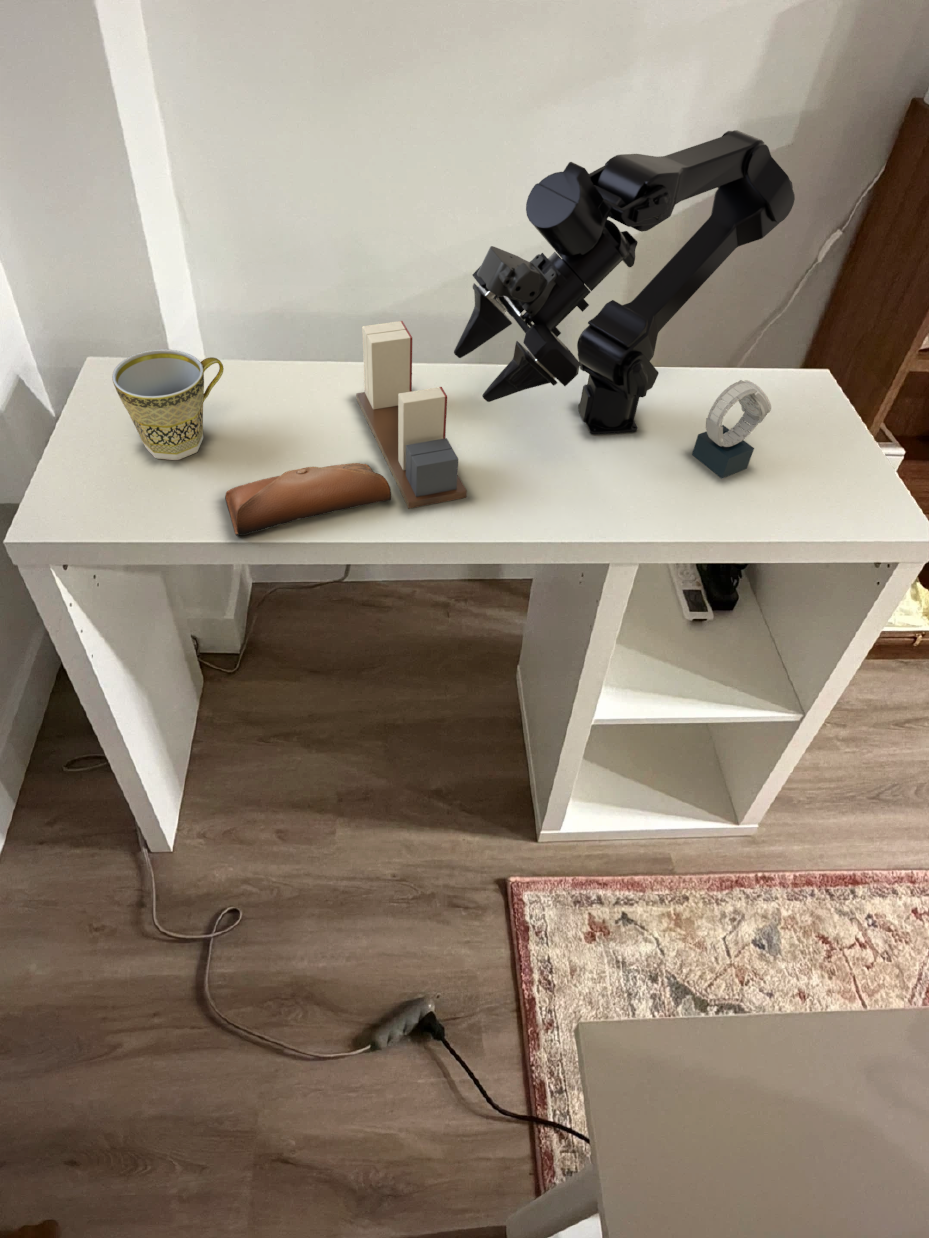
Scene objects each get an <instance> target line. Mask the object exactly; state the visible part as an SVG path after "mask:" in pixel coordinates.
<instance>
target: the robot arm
mask: <svg viewBox="0 0 929 1238" xmlns="http://www.w3.org/2000/svg"><path fill="white" fill-rule="evenodd" d="M714 189H716V191H715V192H714V197H713V202H712V206H711V207H712V208H711V213H710V216H709V217H708V218H707V219H706V220H705V221H704V223H703V224H702V225H701V226H700V227H699V228H698V229H697V230H696V231H695V232H694V234H693V235H692V236H691V237H690V238H688V240H687V241H686V242H685V243H684V244H683V245H682V246H681V247H680V248H679V250H678V251H676V253H675V254H674V255H673V256H672V257H671V258H670V259H669V261H668V262H667V263H666V264H665V265H664V266H663V267H662V268H661V269H660V270H659V271H658V272H657V273H656V274H655V276H653V278H652V279H651V280H650V281H649V282H648V283H647V284H646V285H645V286H644V288H642V290H641V291H640V292H639V293H638V294H637V295H636V296H635V297H634V298H633V299H632V300H631V301H630V302H628V303H625V304H621V303H619V302H618V301H616V300H614V299H611V300H610V301H608V302H606V303H605V304H604V306H603V307H602V308H601V309H600V311H599V312H598V313H597V314H596V315H595V316H594V317H593V318H591V319H590V320H588V322H587V325H588V326H587V327H585V328H584V329H583V330H582V332H581V333H580V335H579V337H578V340H577V343H576V348H577V357H576V356H575V355H574V354H573V352H571V350H570V349H569V347H568V346H567V345H566V344H564V342H563V341H562V340H561V339H560V338H559V336H560V335H561V334H562V332H561V331H560V330H559V328H558V326H559V325H560V324H561V323H562V322H563V321H564V320H565V318H567V317H568V316H569V315H570V314H571V313H572V312H573V311H574V310H575V309H576V308H578V309H579V310H580V311H581V312H582V313H583V312H584V311H585V310H586V309H587V308H589V306H590V304H589V303H588V302H587V301H586V300H585V299H586V298H587V297H588V296H589V295H590V293H591V292H592V291H594V289H595V288H597V287H598V286H599V284H600V283H602V282H603V280H605V279H606V278H607V277H608V276H609V274H611V273H612V271H613V270H615V269H616V268H617V267H618V266H619V264H620V263H622V262H623V263H624V264H625V265H626V266H627V268H633V266H634V265H635V261H636V250H637V246H638V244H639V243H638V240H637V239H636V238H635V237H634V236H633V235H632V234H631V233H630V232H629V231H628V230H624V231H623V230H622V231H621V230H620V229H619V227H618V226H617V224H616V223H614V222H613V221H612V220H614V221H616V222H618V223H619V224H622V225H624V226H625V227H628V228H632V229H635V230H636V231H637V232H642V233H643V232H648V231H650V230H652V229H653V228H655V227H656V226H658V225H659V224H662V222H664V221H666V220H668V219H669V218H671V216H672V214H673V211H674V209H675V207H676V205H677V204H679V203H681V202H683V201H686V200H688V199H690V198H694V197H696V196H698V195H699V196H700V195H701V194H704V193H707V192H709V191H712V190H714ZM795 200H796V196H795V192H794V187H793V182H792V180H791V179H790V177H789V175H788V174H787V173H786V172H785V171H784V169H783V168H782V167H781V166H780V165H779V163H778V162H777V161H776V160H775V159H774V158H773V156H772V154H771V151H770V148H769V146H768V145H767V144H765V141H763V140H762V139H760V138H758V137H755V136H753V135H750V134H748V133H745V132H742V131H741V130H727V131H726V132H724V133H723V134H722V135H721V136H719V137H716V138H713V139H711V140H707V141H705V142H702V143H698V144H695V145H693V146H690V147H687V148H684V149H681V150H678V151H674V152H671V153H669V154H666V155H663V156H661V155H660V156H655V155H648V154H642V153H628V154H627V153H625V154H624V153H622V154H616V155H614V156H612V157H611V158H609V159H608V160H607V161H606V162H605V163H604V165H602V166H601V167H599V168H597V169H595V170H593V171H591V172H590V173H589V172H588V170H587V169H586V168H585V167H583V166H581V165H579V164H577V163H575V162H573V161H569V162H568V164H567V165H566V166H565V168H564V170H563V171H558V172H553V173H551V174H548V175H547V176H545V177H544V178H542V179H541V180H540V181H539V182H538V183H535V184H534V185H533V187H532V188H531V190H530V192H529V194H528V196H527V200H526V203H525V213H526V217H527V219H528V221H529V222H530V224H531V225H532V226H533V227H534V228H535V229H536V230H537V232H538V233H539V234H540V235H541V236H542V237H543V239H544V240H546V242H547V243H548V244H549V246H551V247H552V249H553V250H554V252H553V253H552V254H551V255H550V256H549V257H547V256H546V254H545V253H544V252H541V253H539V254H535V256H534V257H533V258H532V260H530V261H528V260H526V259H524V258H522V257H521V256H518V255H516V254H513V253H512V252H509V251H507V250H504V249H501V248H498V247H496V246H492V245H491V246H489V249H488V250H487V253H486V255H485V256H484V259H483V260H482V263H481V264H480V266H479V267H478V268H477V269H476V270H475V271H474V272H473V274H472V277H473V278H474V280H475V281H476V282H477V284H478V285H477V284H476V283H474V282H473V284H472V289H473V292H474V293H473V294H474V307H473V310H472V312H471V315H470V317H469V319H468V320H467V323H466V325H465V328H464V329H463V332H462V334H461V336H460V337H459V340H458V342H457V344H456V346H455V348H454V350H453V354H454V356H456V357H457V358H458V359H461V358H463V357H465V356H467V355H468V354H471V353H472V352H474V351H475V350H477V349H478V348H480V347H481V346H482V345H483V344H485V343H486V342H488V341H489V340H491V339H492V338H494V337H496V336H497V335H498V334H500V333H502V332H503V331H504V330H505V329H507V328H509V327H510V326H511V325H512V324H513V322H512V321H511V319H510V318H509V316H508V315H510V316H511V318H513V320H514V321H515V322H516V323H517V324H518V326H519V327H520V328H521V330H522V331H523V332H524V333H525V334H524V338H523V341H522V342H523V345H524V346H523V345H522V344H521V343H520V342H519V341H518V340H516V341H515V344H514V351H513V357H512V359H511V360H510V362H509V363H508V364H507V365H506V366H505V367H504V368H503V370H502V371H500V373H499V374H498V375H497V376H496V377H495V378H494V380H493V381H492V382H490V384H489V386H488V387H487V388H486V389H485V391H484V392H483V394H482V399H483V400H485V401H486V402H487V403H491V402H494V401H497V400H499V399H502V398H505V397H508V396H510V395H513V394H517V393H519V392H523V391H525V390H529V389H533V388H536V387H539V386H544V385H547V384H551V385H552V386H556V385H558V383H560V384H561V385H562V386H564V387H566V386H568V384H569V383H571V382H572V381H573V380H574V379H575V378H576V377H577V376H578V375H579V372H580V371H582V372H585V373H587V374H588V378H587V383H586V384H584V385H583V386H582V390H581V396H580V401H579V403H578V406H577V409H578V413H579V415H580V417H581V420H582V422H583V423H584V424H585V427H586V428H587V431H588V433H589V434H590V435H592V436H593V435H594V436H596V435H611V434H626V433H628V434H629V433H637V432H638V425H637V423H636V421H635V418H636V414H637V410H638V406H639V402H640V398H645V397H647V393H648V391H649V390H652V388H653V387H654V385H655V384H656V381H657V379H658V376H659V374H660V373H659V371H658V369H657V368H656V367H655V366H654V365H653V363H652V362H651V360H653V358H654V356H655V352H656V346H657V341H658V337H659V336H658V335H659V333H660V331H662V329H663V328H664V327H665V326H666V325H667V324H668V322H669V321H671V320H672V318H673V317H674V316H675V315H676V314H677V313H678V312H679V311H680V310H681V308H682V307H683V306H684V305H685V304H686V303H687V302H688V301H689V300H690V299H691V297H692V296H693V295H694V294H695V293H697V291H698V290H699V289H700V288H701V287H702V285H704V284H705V282H706V281H707V280H708V279H709V278H710V277H712V275H713V274H714V273H715V272H716V270H717V269H719V267H720V266H721V265H723V263H724V262H725V261H726V260H727V259H728V258H729V257H730V255H731V254H733V252H734V251H735V250H736V249H737V248H738V247H742V246H744V245H747V244H750V243H753V242H757V241H759V240H762V239H763V238H765V237H766V236H767V235H768V234H769V233H770V232H772V231H773V230H774V229H775V228H776V227H777V226H778V225H780V224H781V223H782V222H783V221H785V220H786V219H787V217H788V216H789V215H790V213H791V211H792V209H793V207H794V204H795ZM608 218H610V219H612V220H609V219H608ZM524 311H525V312H524ZM506 312H507V313H508V315H507V314H506ZM523 312H524V313H523ZM522 313H523V314H522Z"/></svg>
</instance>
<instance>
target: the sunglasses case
mask: <svg viewBox="0 0 929 1238" xmlns="http://www.w3.org/2000/svg"><path fill="white" fill-rule="evenodd" d="M224 499H225V503H226V507H227V510H228V513H229V516H230V520H231V524H232V527H233V531H234V534H235V536H236V537H239V536H245V535H249V534H253V533H257V532H260V531H263V530H266V529H271V528H275V527H278V526H280V525H285V524H288V523H292V522H294V521H298V520H304V519H308V518H313V517H318V516H322V515H326V514H330V513H334V512H338V511H344V510H349V509H352V508H357V507H358V508H359V507H362V506H367V505H371V504H377V503H381V502H386V501H391V500H392V491H391V486H390V484H389V481H388V480H387V479H386V477H385V476H384V475H382V474H380V473H377V472H375V471H373V469H372V468H371V467H370V465H369V464H367V463H360V462H350V463H341V464H334V465H328V466H321V467H319V466H306V467H302V468H297V469H291V470H287V471H284V472H283V473H281V475H276V476H271V477H267V478H263V479H259V480H255V481H252V482H247V483H245V484H240V485H238V486H235V487H232V488H230V489H229V490H227V491H226V492H225V495H224Z"/></svg>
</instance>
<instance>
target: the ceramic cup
mask: <svg viewBox="0 0 929 1238" xmlns="http://www.w3.org/2000/svg"><path fill="white" fill-rule="evenodd" d="M214 364H218V371H217V373H216V375H215V376H214V378H213V379H212V380H211V381H210V383H209V384H208V386H207V387H206V389H205V372H206V371H207V369H208V368H209V367H211V366H213V365H214ZM223 374H224V365H223V363H222V361H221V360H220V359H218V358H217V357H211V356H210V357H205V358H204V359H203V360H201V361H200V360H199V359H198V358H197V357H195V356H194V355H192V354H190V353H188V352H185V351H182V350H177V349H169V348H167V349H165V348H163V349H160V348H159V349H150V350H146V351H145V350H144V351H141V352H138V353H135V354H132V355H131V356H128V357H127V358H124V359H123V360H122V361H121V362H119V363H118V364H117V365H116V367H115V368H114V370H113V372H112V374H111V380H112V383H113V386H114V389H115V390H116V392H117V395H118V397H119V399H120V401H121V403H122V405H123V407H124V408H125V410H126V411H127V413H128V415H129V418H130V419H131V421H132V423H133V425H134V428H135V429H136V431H137V433H138V436H139V437H140V439H141V442H142V444H143V445H144V447H145V449H146V450H147V451H148V452H149V453H150V454H151V455H152V456H153V457H154V458H155V459H158V460H168V461H169V460H170V461H180V460H182V459H185V458H187V457H190V456H192V455H194V454H197V452H199V449H200V447H201V445H202V442H203V440H204V403H205V400H207V398H208V397H209V395H210V393H211V392H212V390H213V388H214V387H215V385H216V384H217V383H218V382H219V380H220V379H221V378H222V376H223Z"/></svg>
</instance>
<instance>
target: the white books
mask: <svg viewBox="0 0 929 1238" xmlns="http://www.w3.org/2000/svg"><path fill="white" fill-rule="evenodd" d="M361 327H362V355H363V356H362V357H363V358H362V361H363V385H364V386H363V387H364V392H365V394H366V396H367V398H368V400H369V402H370V404H371V406H372V408H373V409H380V408H386V407H392V406H398V394H399V393H405V392H412V391H413V336H412V334H411V333H410V331H409V330H408V328H407V326H406V324H405V322H404V321H403V320H400V321H399V320H398V321H391V322H384V323H377V324H376V323H375V324H370V325H363V326H361Z"/></svg>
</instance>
